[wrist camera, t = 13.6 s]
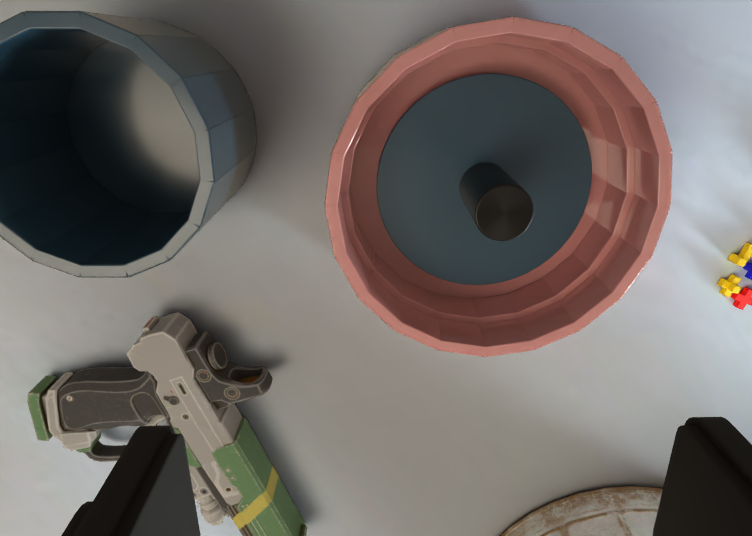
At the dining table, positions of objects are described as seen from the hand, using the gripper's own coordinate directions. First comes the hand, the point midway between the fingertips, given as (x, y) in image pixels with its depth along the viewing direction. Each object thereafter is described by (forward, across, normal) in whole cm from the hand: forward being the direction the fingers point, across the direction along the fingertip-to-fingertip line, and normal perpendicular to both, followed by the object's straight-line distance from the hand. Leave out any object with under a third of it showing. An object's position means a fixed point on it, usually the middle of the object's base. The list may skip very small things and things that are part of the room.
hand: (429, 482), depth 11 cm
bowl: (+22, -5, -1) cm, 22 cm away
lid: (+20, -5, -1) cm, 21 cm away
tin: (+22, +12, -4) cm, 25 cm away
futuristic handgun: (+22, +13, +17) cm, 30 cm away
